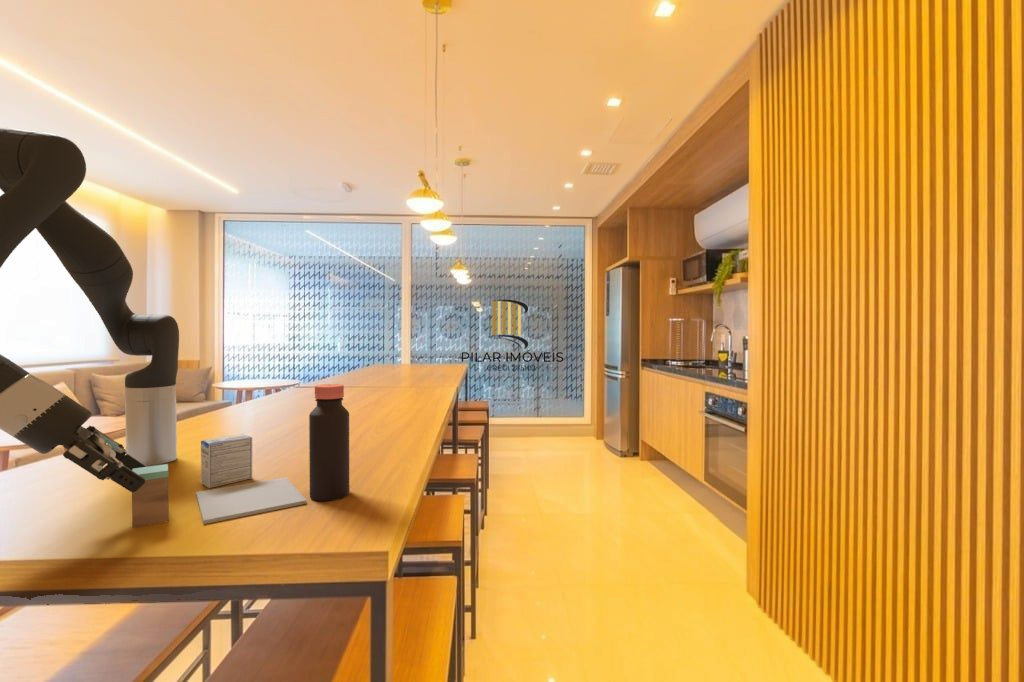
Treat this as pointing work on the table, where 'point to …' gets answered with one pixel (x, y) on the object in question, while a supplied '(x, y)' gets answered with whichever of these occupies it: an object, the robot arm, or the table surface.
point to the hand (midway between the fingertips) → (141, 479)
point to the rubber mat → (247, 499)
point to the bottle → (329, 444)
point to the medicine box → (226, 460)
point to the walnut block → (151, 496)
